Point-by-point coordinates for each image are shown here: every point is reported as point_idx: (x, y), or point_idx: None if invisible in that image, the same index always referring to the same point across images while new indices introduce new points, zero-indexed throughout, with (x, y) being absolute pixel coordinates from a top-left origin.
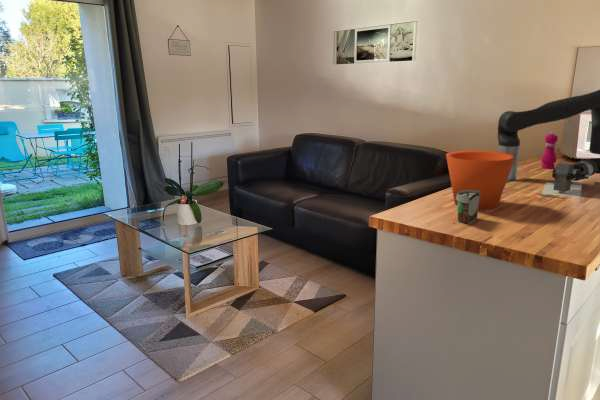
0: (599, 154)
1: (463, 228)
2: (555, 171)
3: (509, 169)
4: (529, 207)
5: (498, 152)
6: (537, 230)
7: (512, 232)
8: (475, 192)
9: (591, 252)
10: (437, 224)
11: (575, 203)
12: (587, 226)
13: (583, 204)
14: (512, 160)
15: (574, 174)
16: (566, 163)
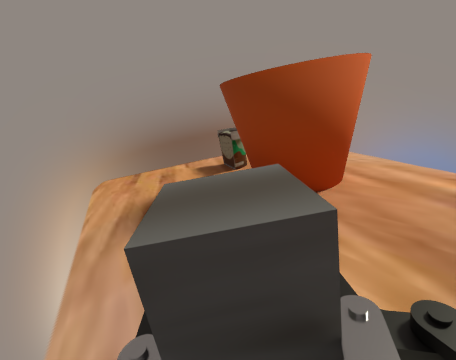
0: None
1: (219, 161)
2: (410, 327)
3: (231, 109)
4: None
5: (313, 61)
6: (157, 187)
7: (177, 175)
8: (235, 133)
9: (95, 191)
10: None
11: (131, 336)
12: (94, 222)
13: (94, 351)
14: (223, 88)
15: (131, 351)
16: (238, 215)
